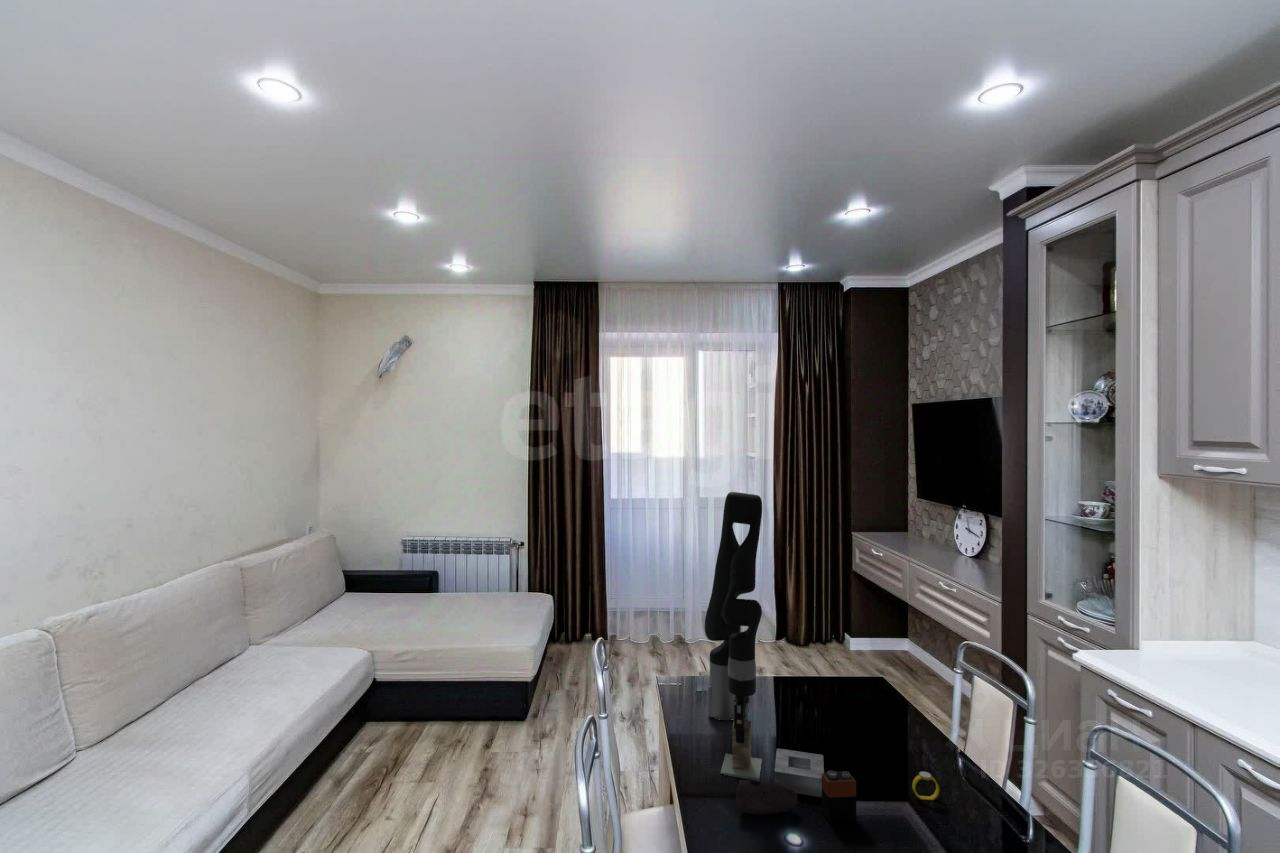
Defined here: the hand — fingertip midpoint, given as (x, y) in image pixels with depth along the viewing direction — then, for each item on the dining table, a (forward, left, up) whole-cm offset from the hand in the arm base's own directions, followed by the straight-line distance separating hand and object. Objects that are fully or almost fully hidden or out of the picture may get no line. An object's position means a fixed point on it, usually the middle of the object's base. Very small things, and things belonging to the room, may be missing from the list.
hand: (741, 734), depth 157 cm
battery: (+24, -15, -9) cm, 30 cm away
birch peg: (0, 0, -8) cm, 8 cm away
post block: (+15, -2, -9) cm, 17 cm away
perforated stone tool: (+8, -18, -9) cm, 21 cm away
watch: (+45, -1, -9) cm, 46 cm away
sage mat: (0, 0, -9) cm, 9 cm away
